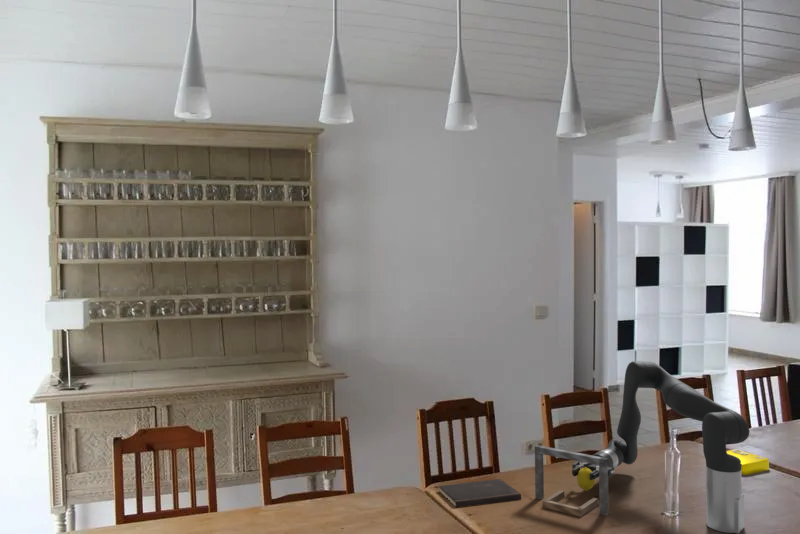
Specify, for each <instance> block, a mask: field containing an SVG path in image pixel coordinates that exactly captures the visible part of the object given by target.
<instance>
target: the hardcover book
mask: <svg viewBox="0 0 800 534" xmlns="http://www.w3.org/2000/svg"><path fill="white" fill-rule="evenodd" d="M438 488H439V492H440V493H441V494H442V495H443V496H444V497H445V498H446V499H447V498H448V499H447V500H448V501H449V500H450V501H449V502H450V503H451V504H452V505H454V507H455V508H461V507H460V506H465V507H469V506H468V505H472V506H477V505H476V504H480V505H486V503H487V504H494V503H495V504H496V503H502V502H511V501H517V500H522V494H521V493H520V492H519V491H518V490H516V489H515V488H514V487H513V486H510V484H508V483H507V482H505V481H504V480H503V479H501V478H495V479H494V478H493V479H488V480H487V479H486V480H485V479H484V480H480V481H478V480H477V481H471V482H459V483H453V484H445V485H443V484H442V485H438Z"/></svg>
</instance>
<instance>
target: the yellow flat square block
mask: <svg viewBox="0 0 800 534" xmlns="http://www.w3.org/2000/svg"><path fill="white" fill-rule="evenodd" d="M726 451H727V454H730V455H733V456H735V457H737V458H739V459H740V460H741V476H742V475H743V476H749V475H753V474H757V473H763V472H766V471H769V470H770V459H769V458H767V457H765V456H760V455H758V454H753V453H750V452H746V451H744V450H740V449H736V448H735V449H729V450H726Z"/></svg>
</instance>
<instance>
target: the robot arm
mask: <svg viewBox="0 0 800 534" xmlns="http://www.w3.org/2000/svg"><path fill="white" fill-rule="evenodd" d="M623 382H624V383H623V395H622V396H623V397H622V407H621V413H620V418H619V420H618V423H617V424H618V425H617V428H616V434H617V436H618V437H619V438H612V439H611V440H610V441H609V442H608V445H607V447H606V448H604V449H602V450H598V451H597V452H595V453H594V454H591V455H592V456H598V457H603V458H608V478H610V477H613V476H615V469H616V468H617V467H619V466H620V465H621V464H622V463H623V464H626V465H632V464H633V463H635V462H636V460H637V457H638V454H639V453H638V433H639V429H640V426H641V421H642V415H641V411H640V408H639V406H638V403H637V397H636V395H637V392H638V389H655V390H657V391H659V392H661V394H662V395H661V396H662V399H663V402H664V403H665V405H666V406H668V407H669V408H670V409H671V410H672V411H674V412H676V413H677V414H678V415H681V416H682V417H685V418H688V419H690V420H695V421H699V422H702V424H701V433H702V434H701V435H702V448H703V455H704V460H705V482H706V483H705V485H706V488H705V489H706V492H705V493H706V496H705V497H706V501H705V503H706V516H705V517H706V525H707V527H709V528H710V529H711V530H715V531H718V532H722V533H728V534H731V533H733V534H734V533H735V534H741V532H742V531H743V529H744V528H745V501H744V500H745V495H744V494H743V493H742V492H743V491H742V489H743V488H742V487H743V484H742V483H743V482H742V475H741V460H740V459H739V458H737V457H735V456H733V455H730V454H727V451H728V450H727V445H737V444H741V443H744V442H745V441H746V440H747V439H748V438H749V436H750V426H749V424H748V422H747V420H746V419H745V418H744V417H743V416H742V415H741V414H740V413H738V412H737V411H735V410H733V409H730V408H728V407H726V406H723V405H721V404H720V403H718V402H715V401H714V400H712V399H710V398H709V397H707V396H705V395H703V394H702V393H701V392H699V391H697V390H696V389H695V388H693V387H691V386H690V385H688V384H687V383H685V382H682V381H681V380H680V379H678V378H676V377H675V376H673V375H671V374H670V373H669V372H667V371H666V370H665V369H664V368H663V367H662V366H661V365H659V364H658V363H656V362H654V361H646V360H644V361H643V360H641V361H640V360H639V361H638V360H637V361H636V360H634V361H631V362H629V363H628V364H627V366H626V370H625V375H624V381H623ZM620 438H621V439H620ZM571 465H572V467H571V469H572V470H571V475H572V476H573V477H577V475H578V472H579V470H580V469H582V468H584V467H587V468H588V469H590V470H591V471H592V472H591V473H590V480H593V479H595V480H596V479H599V465H595V464H590V463H585V462H580V461H575V460H574V462H573V463H572V464H571Z"/></svg>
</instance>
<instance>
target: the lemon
mask: <svg viewBox="0 0 800 534" xmlns="http://www.w3.org/2000/svg"><path fill="white" fill-rule="evenodd" d="M591 472H592V471H591V470H590V469H588V468H587V467H584V468H582V469H581V468H580V470H579V472H578V475H577V476H576V481H577V484H578V486H579V487H580V489H582V490H584V491H585V492H588V491H589V490H591V489H592V488H593V487H594V485H595V481H596V479H593V480H590V473H591Z"/></svg>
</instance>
